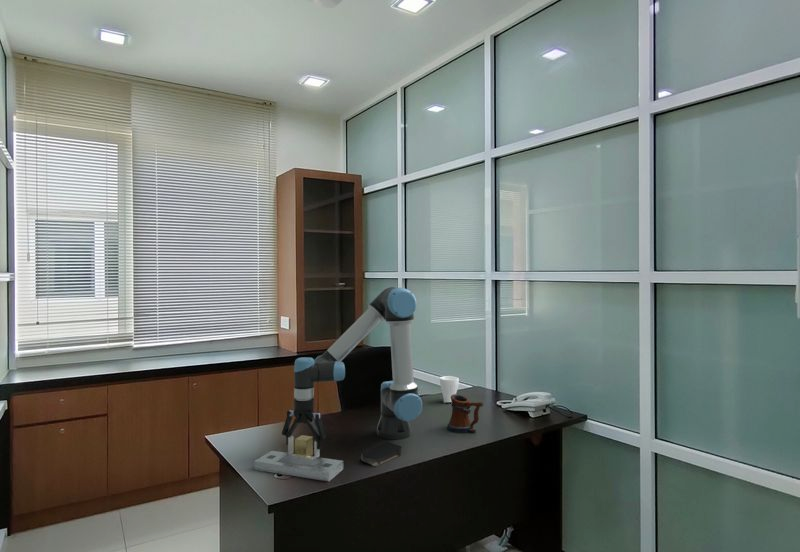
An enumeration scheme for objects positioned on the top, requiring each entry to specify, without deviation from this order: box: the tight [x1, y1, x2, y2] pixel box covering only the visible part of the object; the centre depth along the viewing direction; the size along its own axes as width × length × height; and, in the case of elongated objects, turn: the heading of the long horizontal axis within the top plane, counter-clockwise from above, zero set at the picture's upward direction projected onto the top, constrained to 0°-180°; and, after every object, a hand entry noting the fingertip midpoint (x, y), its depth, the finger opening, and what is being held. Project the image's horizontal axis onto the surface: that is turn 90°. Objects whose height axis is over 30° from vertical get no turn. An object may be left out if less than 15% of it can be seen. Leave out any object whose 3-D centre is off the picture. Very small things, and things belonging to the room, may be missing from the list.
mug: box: [447, 393, 484, 434], centre depth 216 cm, size 18×12×15 cm, turn 45°
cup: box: [439, 375, 460, 403], centre depth 263 cm, size 10×10×14 cm
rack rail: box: [253, 450, 344, 482], centre depth 172 cm, size 30×11×3 cm, turn 71°
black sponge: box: [360, 441, 402, 467], centre depth 182 cm, size 16×8×4 cm, turn 141°
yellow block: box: [294, 434, 314, 456], centre depth 185 cm, size 5×5×7 cm
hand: (303, 455), depth 185 cm, fingers open, 11 cm apart
